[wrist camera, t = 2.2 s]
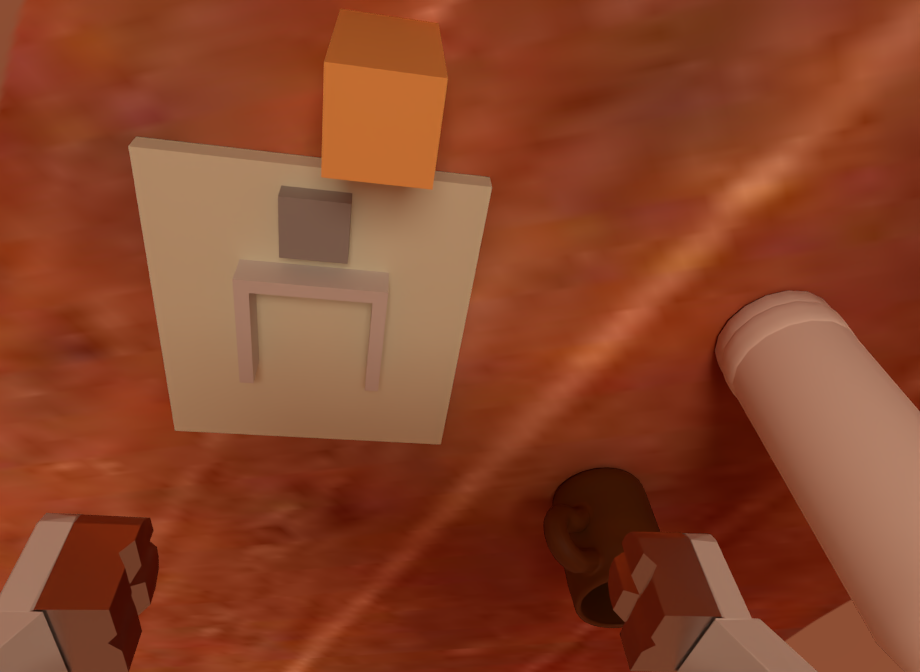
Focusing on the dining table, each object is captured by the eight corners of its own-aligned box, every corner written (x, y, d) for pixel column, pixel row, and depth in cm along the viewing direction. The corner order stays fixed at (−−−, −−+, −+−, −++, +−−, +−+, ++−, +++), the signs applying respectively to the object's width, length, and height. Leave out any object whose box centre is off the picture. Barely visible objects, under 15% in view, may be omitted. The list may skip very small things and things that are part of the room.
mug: (495, 473, 51) (511, 584, 44) (572, 423, 48) (603, 533, 41) (586, 533, 57) (614, 640, 50) (660, 491, 54) (701, 598, 47)
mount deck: (136, 136, 33) (114, 163, 30) (489, 177, 35) (496, 205, 33) (179, 417, 45) (166, 453, 43) (440, 432, 48) (442, 466, 45)
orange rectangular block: (340, 8, 30) (324, 61, 24) (438, 23, 31) (447, 78, 24) (336, 106, 33) (321, 177, 26) (426, 118, 33) (432, 189, 27)
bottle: (712, 390, 47) (1018, 966, 24) (712, 304, 42) (1099, 924, 19) (826, 365, 46) (1260, 934, 23) (840, 274, 41) (1410, 882, 18)
